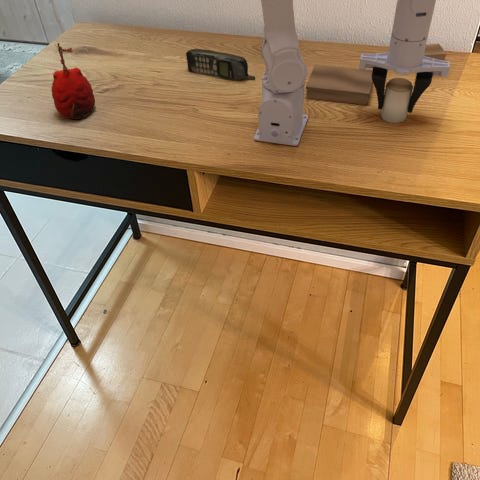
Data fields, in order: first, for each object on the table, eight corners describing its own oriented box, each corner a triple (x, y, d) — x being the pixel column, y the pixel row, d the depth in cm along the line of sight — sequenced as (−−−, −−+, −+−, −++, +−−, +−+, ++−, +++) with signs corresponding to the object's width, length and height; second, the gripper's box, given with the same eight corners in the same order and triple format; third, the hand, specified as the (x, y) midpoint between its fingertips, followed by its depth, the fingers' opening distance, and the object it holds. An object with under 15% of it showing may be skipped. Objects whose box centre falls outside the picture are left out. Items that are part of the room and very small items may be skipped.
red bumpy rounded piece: (94, 99, 102) (73, 25, 91) (100, 116, 97) (79, 40, 87) (56, 108, 100) (30, 33, 90) (61, 126, 96) (34, 50, 85)
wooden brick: (367, 105, 96) (369, 93, 94) (305, 98, 98) (305, 86, 97) (373, 82, 102) (375, 70, 100) (314, 76, 104) (314, 64, 103)
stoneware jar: (405, 124, 91) (412, 91, 86) (379, 121, 92) (385, 88, 87) (407, 110, 94) (414, 78, 89) (382, 107, 95) (387, 75, 90)
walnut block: (440, 74, 103) (446, 53, 99) (419, 75, 103) (424, 55, 99) (433, 64, 106) (438, 43, 103) (413, 65, 106) (417, 45, 103)
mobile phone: (183, 52, 105) (249, 61, 100) (190, 45, 107) (255, 54, 102) (186, 74, 108) (251, 84, 103) (193, 67, 110) (256, 77, 105)
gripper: (361, 41, 81) (351, 115, 91) (456, 49, 78) (436, 125, 87) (366, 22, 86) (357, 95, 95) (457, 29, 82) (437, 103, 92)
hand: (395, 108), depth 92 cm, fingers closed on stoneware jar, 5 cm apart
